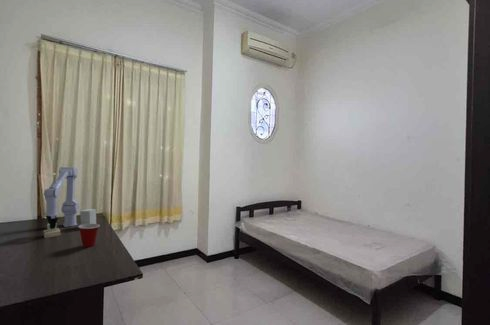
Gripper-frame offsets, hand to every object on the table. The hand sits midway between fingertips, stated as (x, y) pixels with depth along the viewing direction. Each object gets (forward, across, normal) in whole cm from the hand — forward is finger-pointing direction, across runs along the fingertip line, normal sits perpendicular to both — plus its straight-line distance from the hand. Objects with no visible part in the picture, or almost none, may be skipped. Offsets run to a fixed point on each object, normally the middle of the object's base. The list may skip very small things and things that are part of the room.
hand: (52, 227), depth 165 cm
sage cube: (+2, 0, 0) cm, 2 cm away
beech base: (+5, 0, 0) cm, 5 cm away
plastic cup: (+5, +37, +14) cm, 40 cm away
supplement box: (+6, -7, +22) cm, 24 cm away
